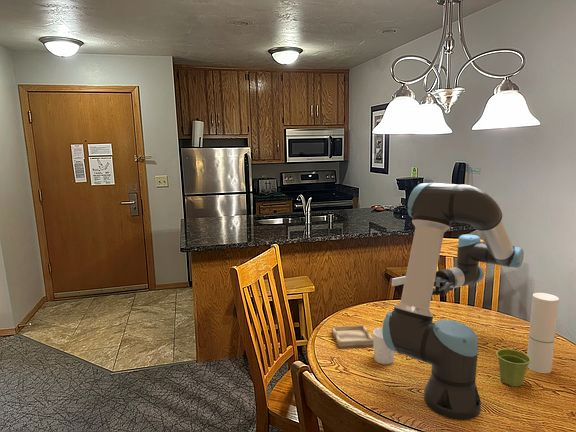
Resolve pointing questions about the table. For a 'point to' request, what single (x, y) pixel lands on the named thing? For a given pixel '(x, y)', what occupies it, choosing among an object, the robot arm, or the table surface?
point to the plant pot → (512, 366)
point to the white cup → (381, 348)
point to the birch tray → (352, 336)
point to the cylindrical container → (542, 332)
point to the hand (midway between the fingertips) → (405, 287)
